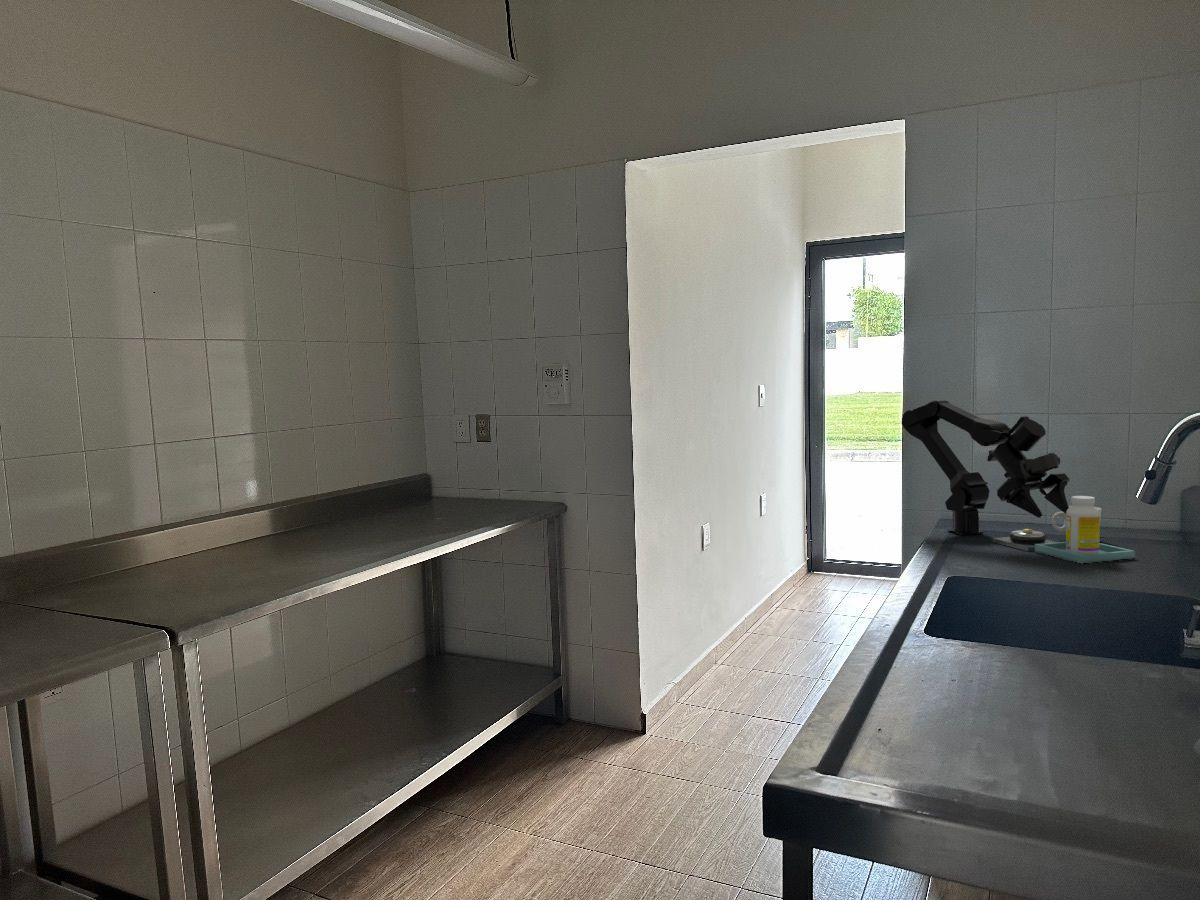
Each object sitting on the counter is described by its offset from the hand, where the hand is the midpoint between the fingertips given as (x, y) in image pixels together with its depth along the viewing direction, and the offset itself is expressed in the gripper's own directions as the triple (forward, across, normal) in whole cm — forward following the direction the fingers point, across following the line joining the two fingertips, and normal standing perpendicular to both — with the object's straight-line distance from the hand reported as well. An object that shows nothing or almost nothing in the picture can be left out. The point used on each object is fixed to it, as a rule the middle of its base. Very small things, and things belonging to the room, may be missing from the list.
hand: (1054, 514), depth 199 cm
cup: (+2, +14, +10) cm, 18 cm away
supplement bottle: (+11, 0, 0) cm, 11 cm away
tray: (+11, 0, 0) cm, 11 cm away
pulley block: (+1, 0, +11) cm, 11 cm away
